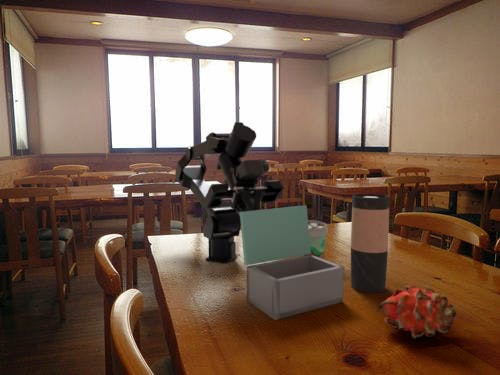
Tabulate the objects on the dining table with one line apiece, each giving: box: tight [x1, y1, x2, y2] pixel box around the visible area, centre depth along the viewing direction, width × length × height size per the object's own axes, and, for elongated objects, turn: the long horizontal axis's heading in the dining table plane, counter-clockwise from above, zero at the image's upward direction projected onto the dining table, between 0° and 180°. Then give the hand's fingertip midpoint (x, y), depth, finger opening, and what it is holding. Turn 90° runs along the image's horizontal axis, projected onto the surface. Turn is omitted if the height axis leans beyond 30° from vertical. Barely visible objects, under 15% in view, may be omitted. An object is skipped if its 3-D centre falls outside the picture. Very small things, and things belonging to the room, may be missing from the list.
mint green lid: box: [239, 205, 311, 266], centre depth 81 cm, size 10×16×1 cm
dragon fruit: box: [376, 284, 458, 339], centre depth 63 cm, size 8×8×12 cm
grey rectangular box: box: [246, 255, 345, 321], centre depth 76 cm, size 10×16×7 cm, turn 120°
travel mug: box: [350, 193, 390, 294], centre depth 83 cm, size 8×8×20 cm
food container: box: [302, 219, 329, 260], centre depth 101 cm, size 12×6×10 cm, turn 168°
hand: (258, 222), depth 87 cm, fingers closed
